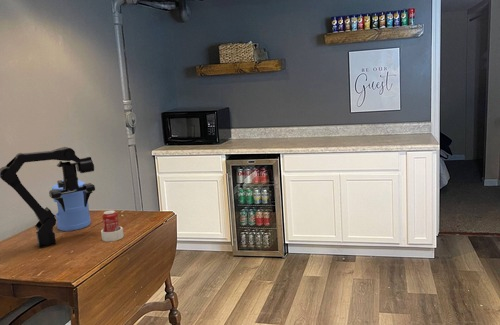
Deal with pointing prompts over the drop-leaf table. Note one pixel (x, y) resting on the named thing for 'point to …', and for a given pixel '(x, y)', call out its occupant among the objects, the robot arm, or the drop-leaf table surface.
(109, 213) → the beverage can
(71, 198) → the water jug
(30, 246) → the drop-leaf table surface
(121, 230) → the ring
